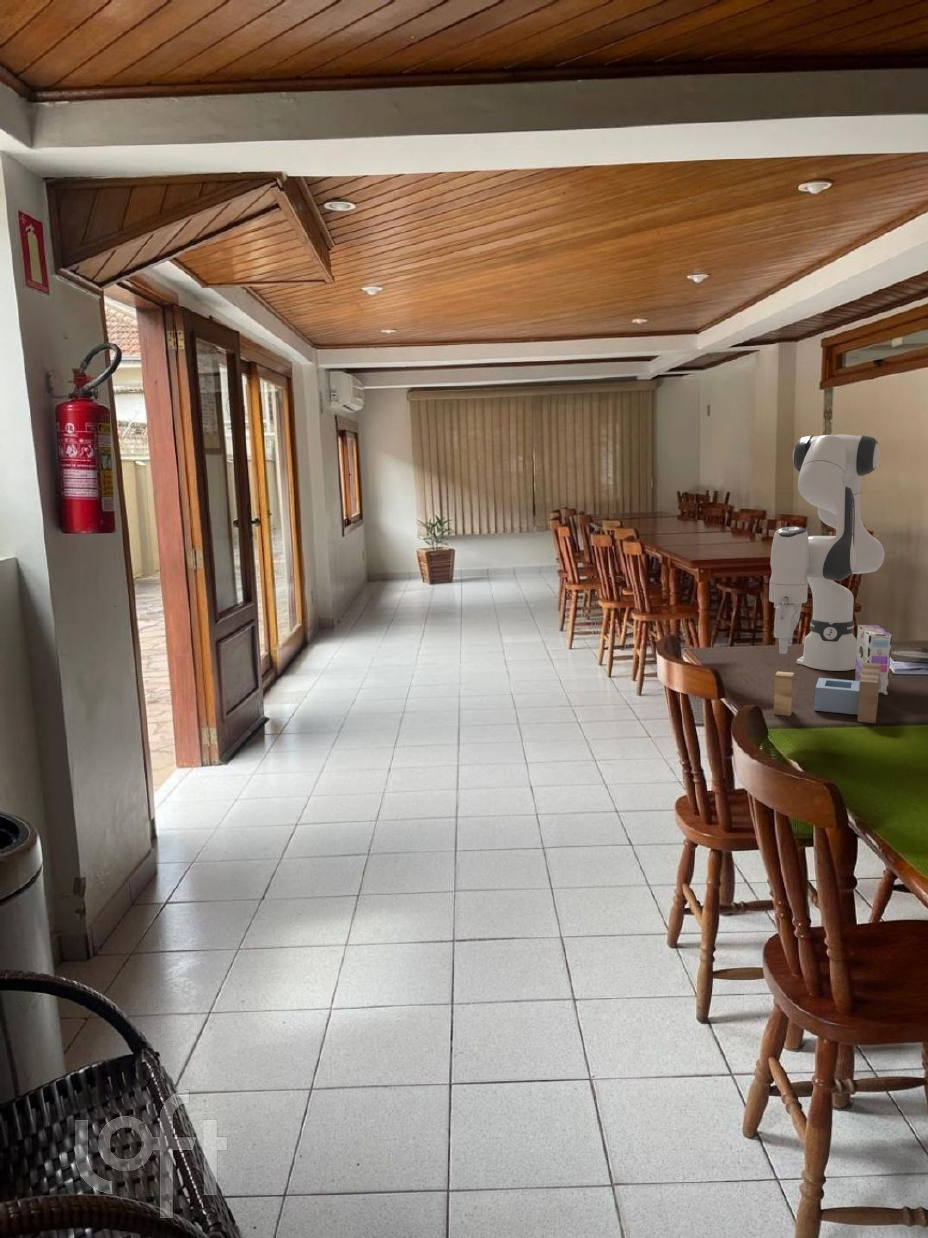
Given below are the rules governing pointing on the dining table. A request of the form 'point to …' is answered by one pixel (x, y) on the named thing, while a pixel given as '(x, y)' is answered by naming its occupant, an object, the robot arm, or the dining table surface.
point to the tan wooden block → (783, 693)
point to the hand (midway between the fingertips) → (785, 649)
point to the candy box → (874, 652)
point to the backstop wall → (868, 692)
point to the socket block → (837, 696)
